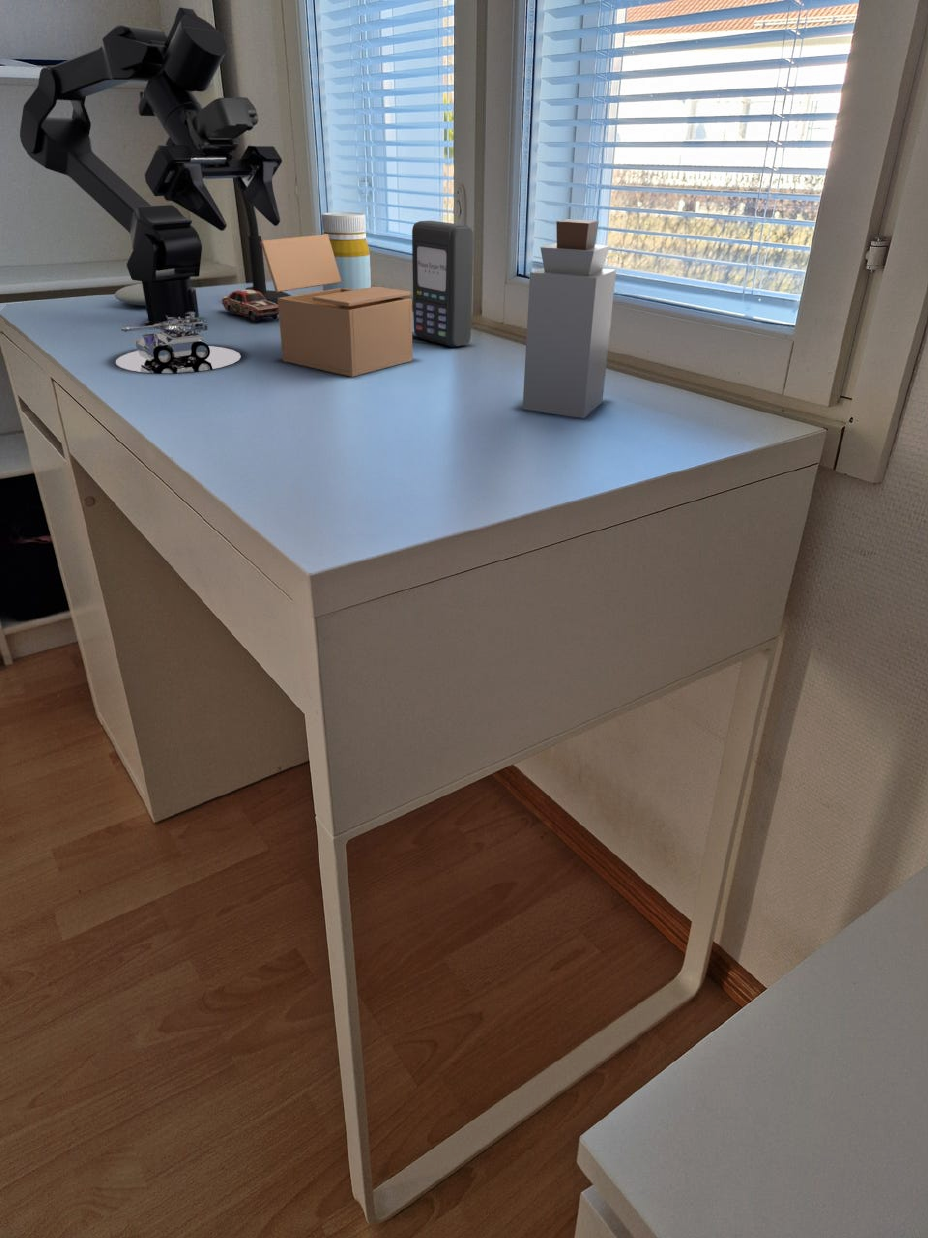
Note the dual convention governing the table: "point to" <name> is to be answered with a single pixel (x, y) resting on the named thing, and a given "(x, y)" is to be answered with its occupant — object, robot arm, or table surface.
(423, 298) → the card reader
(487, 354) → the table surface
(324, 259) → the lid flap
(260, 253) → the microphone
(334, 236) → the bottle
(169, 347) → the toy car
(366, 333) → the carton
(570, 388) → the perfume bottle
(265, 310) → the race car
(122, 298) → the cushion
